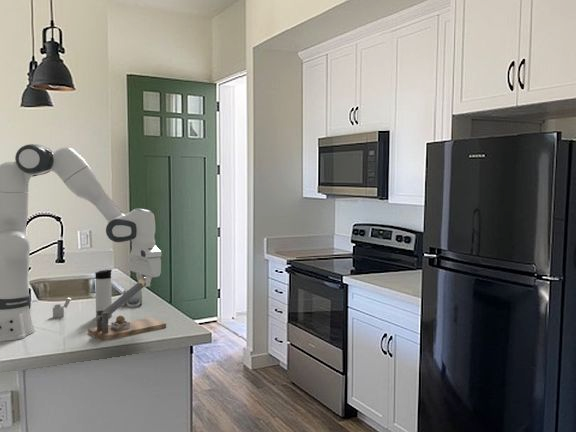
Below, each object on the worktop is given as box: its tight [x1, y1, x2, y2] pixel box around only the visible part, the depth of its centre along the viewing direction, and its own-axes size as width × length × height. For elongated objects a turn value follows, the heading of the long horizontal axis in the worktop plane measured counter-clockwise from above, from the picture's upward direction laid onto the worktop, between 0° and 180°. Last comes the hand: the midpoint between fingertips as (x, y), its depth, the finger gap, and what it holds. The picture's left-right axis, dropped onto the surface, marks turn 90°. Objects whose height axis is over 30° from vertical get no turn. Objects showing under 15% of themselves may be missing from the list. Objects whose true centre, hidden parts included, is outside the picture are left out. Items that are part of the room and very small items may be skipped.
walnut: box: [115, 315, 126, 324], centre depth 199 cm, size 3×3×3 cm
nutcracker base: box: [87, 310, 167, 341], centre depth 201 cm, size 26×12×9 cm, turn 133°
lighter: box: [52, 297, 72, 319], centre depth 219 cm, size 7×2×8 cm, turn 110°
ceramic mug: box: [122, 288, 143, 309], centre depth 240 cm, size 11×8×8 cm
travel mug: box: [94, 269, 113, 319], centre depth 219 cm, size 6×7×20 cm
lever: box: [96, 276, 147, 322], centre depth 199 cm, size 24×4×4 cm
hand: (144, 285), depth 205 cm, fingers closed on lever, 4 cm apart
